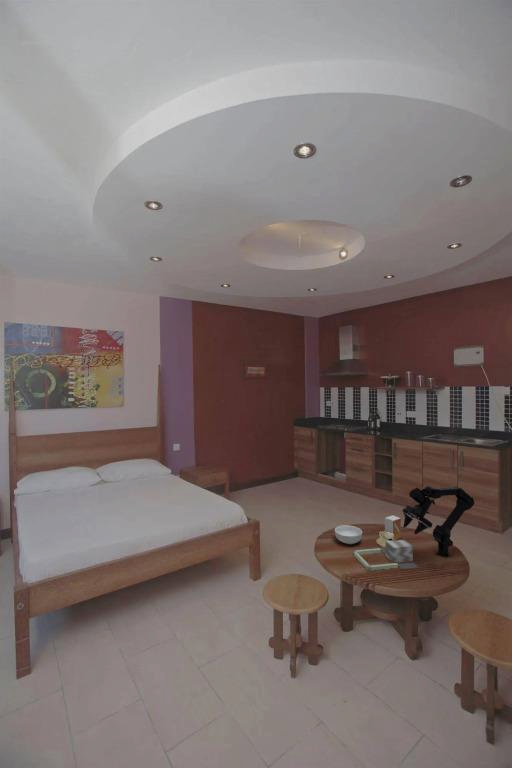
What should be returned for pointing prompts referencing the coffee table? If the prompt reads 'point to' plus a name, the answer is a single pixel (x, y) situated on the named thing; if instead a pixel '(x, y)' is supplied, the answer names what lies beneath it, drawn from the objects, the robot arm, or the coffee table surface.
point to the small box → (393, 526)
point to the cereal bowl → (348, 534)
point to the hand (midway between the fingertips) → (409, 530)
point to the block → (399, 551)
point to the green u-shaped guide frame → (383, 566)
